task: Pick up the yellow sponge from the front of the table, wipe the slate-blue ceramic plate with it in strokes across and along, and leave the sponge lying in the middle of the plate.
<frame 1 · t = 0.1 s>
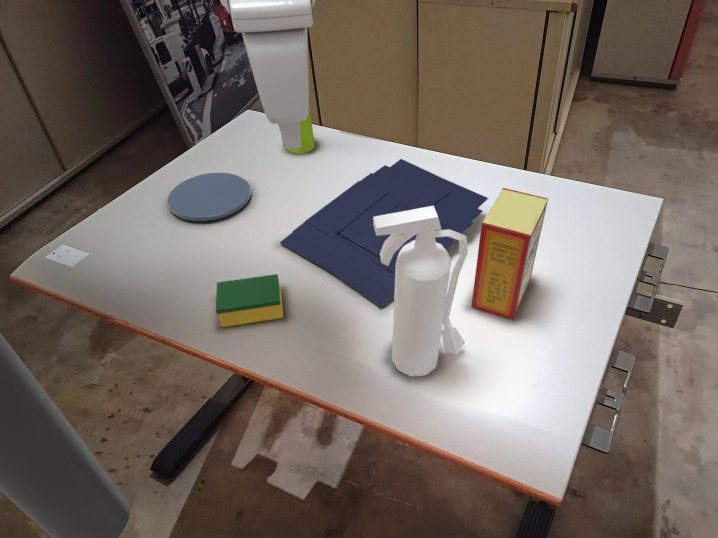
hand: (289, 123, 59), 32 cm above the table, tool pointing down, fingers open, 8 cm apart
fire extinguisher: (423, 359, 77), on the table
sponge: (252, 308, 84), on the table
plate: (211, 200, 104), on the table
baking soda box: (501, 294, 86), on the table
soap dispenser: (299, 148, 118), on the table
folded navy cloth: (389, 233, 97), on the table
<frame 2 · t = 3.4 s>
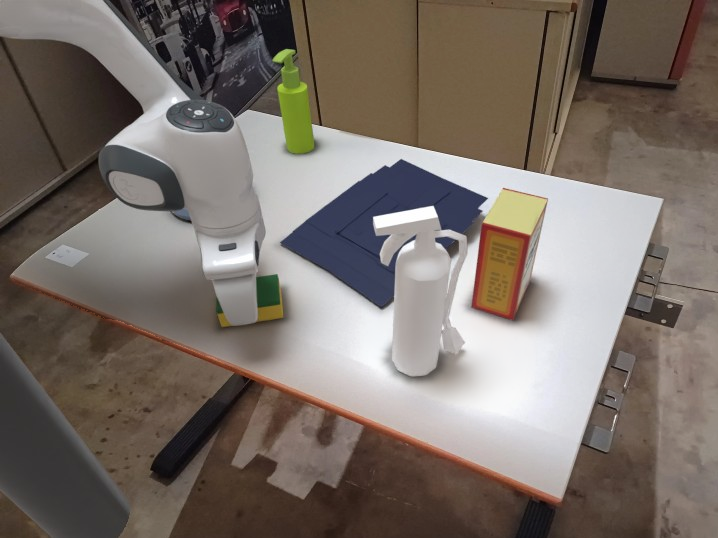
hand: (250, 300, 82), 2 cm above the table, tool pointing down, fingers closed on sponge, 6 cm apart
sponge: (252, 308, 84), on the table, touching gripper
everything else where it was.
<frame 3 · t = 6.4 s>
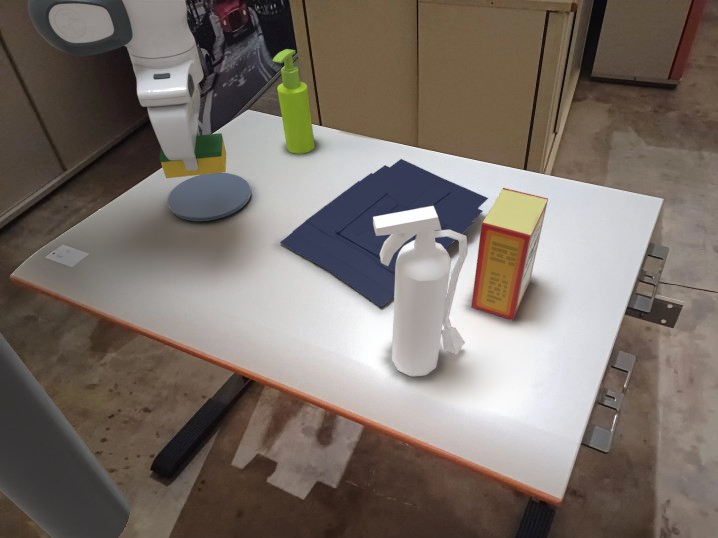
hand: (194, 156, 87), 15 cm above the table, tool pointing down, fingers closed on sponge, 6 cm apart
sponge: (197, 165, 88), point 13 cm above the table, touching gripper
everything else where it was.
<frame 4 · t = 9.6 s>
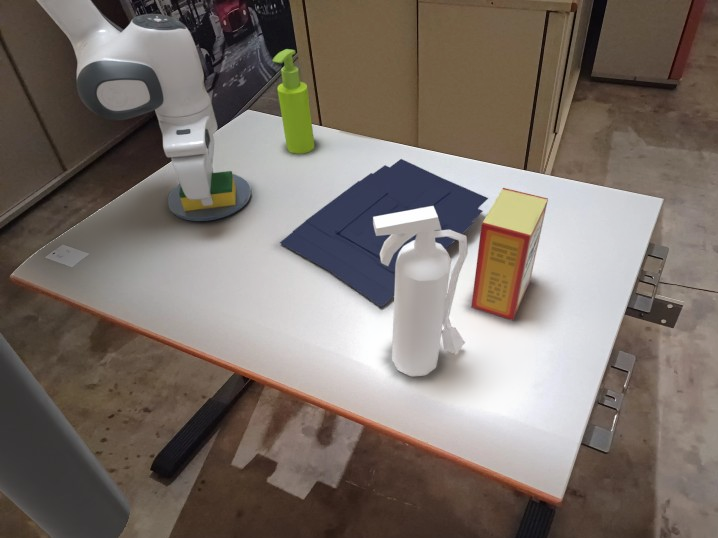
hand: (209, 192, 101), 3 cm above the table, tool pointing down, fingers closed on sponge, 6 cm apart
sponge: (210, 198, 102), point 1 cm above the table, touching gripper
everything else where it was.
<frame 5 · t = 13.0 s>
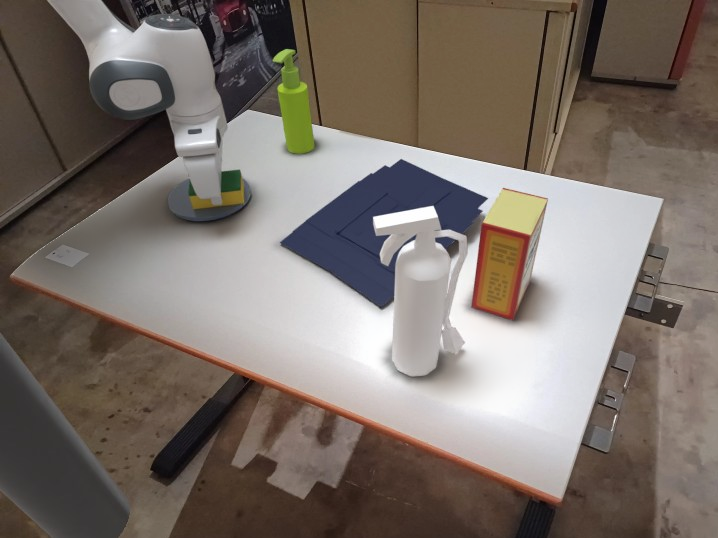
hand: (218, 191, 101), 3 cm above the table, tool pointing down, fingers closed on sponge, 6 cm apart
sponge: (219, 197, 102), point 1 cm above the table, touching gripper
everything else where it was.
when the fingers open (2 cm above the table, at t = 16.0 s): sponge stays where it is, resting on plate.
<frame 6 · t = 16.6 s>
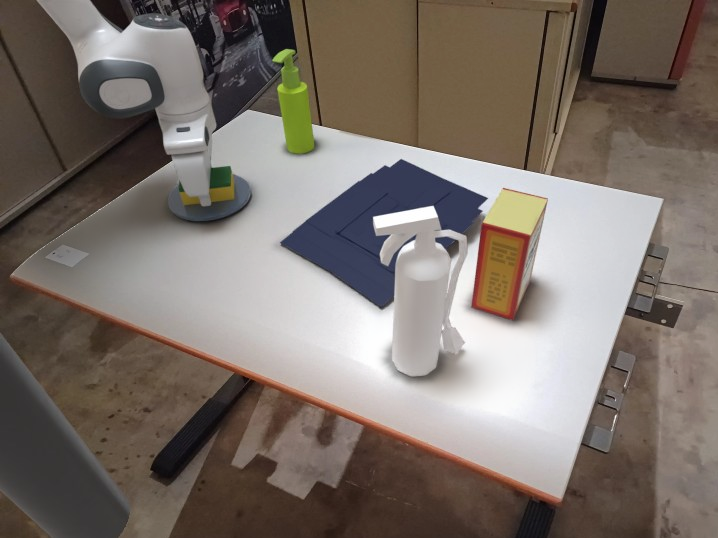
hand: (207, 189, 103), 2 cm above the table, tool pointing down, fingers open, 8 cm apart
sponge: (209, 193, 103), point 1 cm above the table, touching plate
everything else where it was.
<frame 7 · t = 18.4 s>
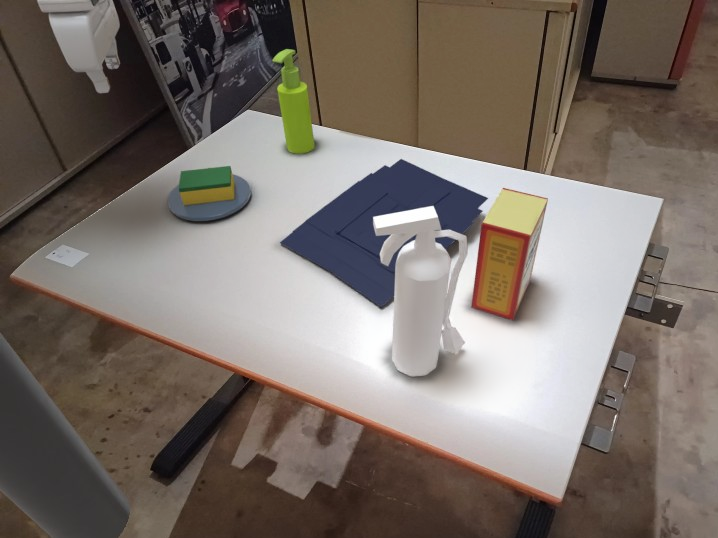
hand: (109, 78, 87), 24 cm above the table, tool pointing down, fingers open, 8 cm apart
nothing on the table moved.
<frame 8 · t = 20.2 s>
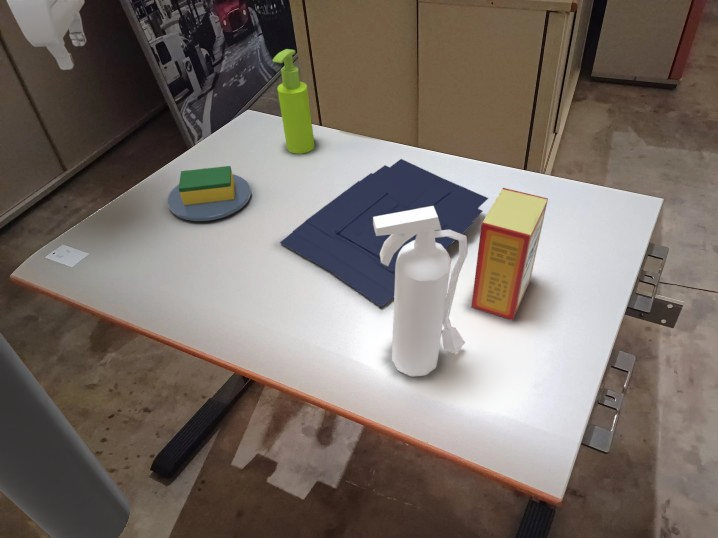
hand: (74, 55, 85), 27 cm above the table, tool pointing down, fingers open, 8 cm apart
nothing on the table moved.
at the end: sponge inside the target area on the plate (0.1 cm from its centre), point 1.4 cm above the plate's base; the gripper is holding nothing; sponge moved 31.9 cm from its start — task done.
